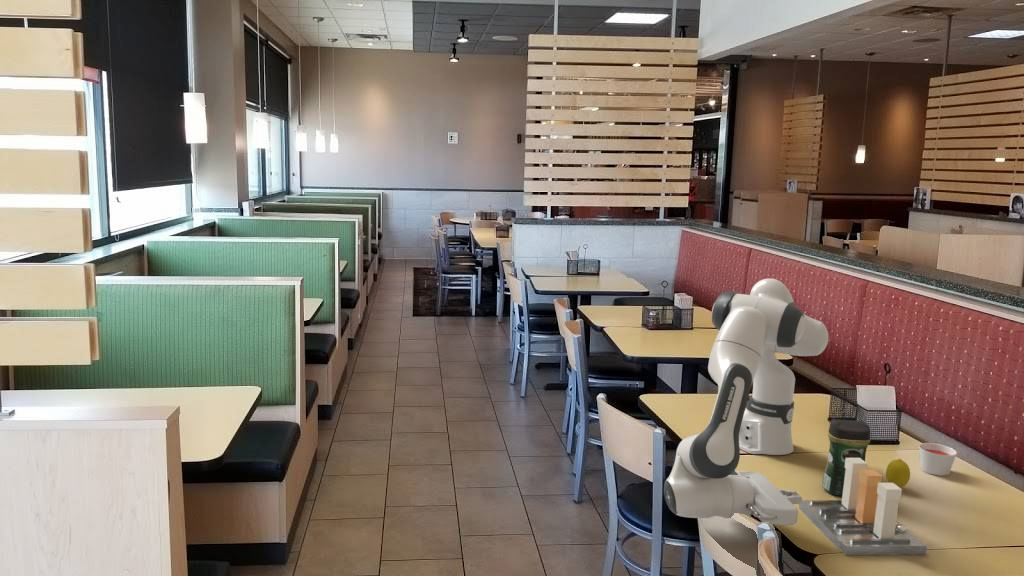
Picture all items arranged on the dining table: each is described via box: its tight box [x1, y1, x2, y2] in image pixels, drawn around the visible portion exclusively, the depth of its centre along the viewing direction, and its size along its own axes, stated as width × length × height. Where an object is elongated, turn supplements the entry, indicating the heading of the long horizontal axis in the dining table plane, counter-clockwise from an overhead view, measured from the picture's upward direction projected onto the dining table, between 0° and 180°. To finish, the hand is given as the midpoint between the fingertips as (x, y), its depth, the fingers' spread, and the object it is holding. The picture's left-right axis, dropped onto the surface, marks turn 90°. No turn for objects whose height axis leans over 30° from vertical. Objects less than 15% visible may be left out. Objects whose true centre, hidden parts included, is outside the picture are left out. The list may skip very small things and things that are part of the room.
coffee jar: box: [822, 418, 871, 497], centre depth 198 cm, size 10×8×19 cm
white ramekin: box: [918, 442, 957, 477], centre depth 215 cm, size 9×9×6 cm
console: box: [798, 499, 928, 556], centre depth 178 cm, size 18×22×3 cm
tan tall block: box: [855, 469, 883, 523], centre depth 177 cm, size 3×3×11 cm
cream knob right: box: [873, 482, 903, 539], centre depth 170 cm, size 3×3×11 cm
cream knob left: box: [841, 458, 868, 509], centre depth 184 cm, size 3×3×11 cm
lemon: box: [885, 458, 911, 488], centre depth 202 cm, size 6×6×8 cm
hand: (798, 497), depth 175 cm, fingers closed
